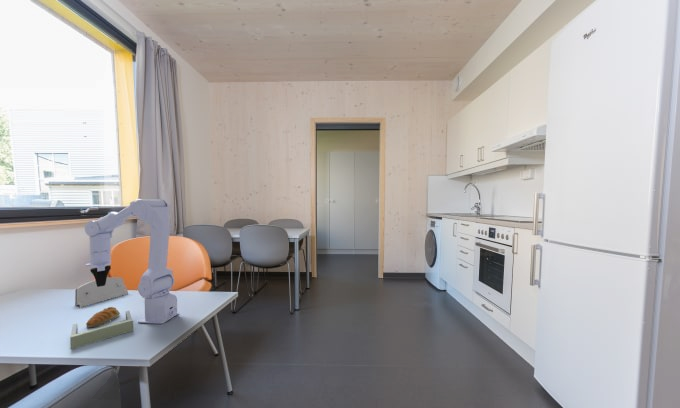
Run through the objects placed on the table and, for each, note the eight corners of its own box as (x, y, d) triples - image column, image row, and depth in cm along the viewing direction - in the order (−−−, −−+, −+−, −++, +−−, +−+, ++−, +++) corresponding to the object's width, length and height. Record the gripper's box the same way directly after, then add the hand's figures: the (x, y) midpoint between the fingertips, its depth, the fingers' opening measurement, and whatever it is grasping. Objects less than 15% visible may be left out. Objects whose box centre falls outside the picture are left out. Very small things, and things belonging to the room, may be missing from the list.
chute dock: (73, 333, 80) (72, 323, 80) (129, 318, 90) (129, 309, 90) (70, 349, 71) (70, 337, 71) (133, 330, 81) (132, 320, 81)
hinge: (79, 307, 99) (75, 283, 100) (74, 309, 101) (70, 286, 102) (129, 293, 114) (125, 272, 115) (124, 295, 116) (120, 274, 117)
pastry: (101, 328, 83) (100, 317, 83) (78, 330, 82) (78, 319, 82) (121, 315, 93) (121, 305, 93) (101, 316, 92) (101, 306, 92)
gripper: (85, 250, 97) (86, 283, 97) (84, 255, 86) (85, 293, 87) (110, 247, 102) (111, 279, 102) (112, 252, 91) (112, 288, 92)
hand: (101, 285), depth 95 cm, fingers closed
